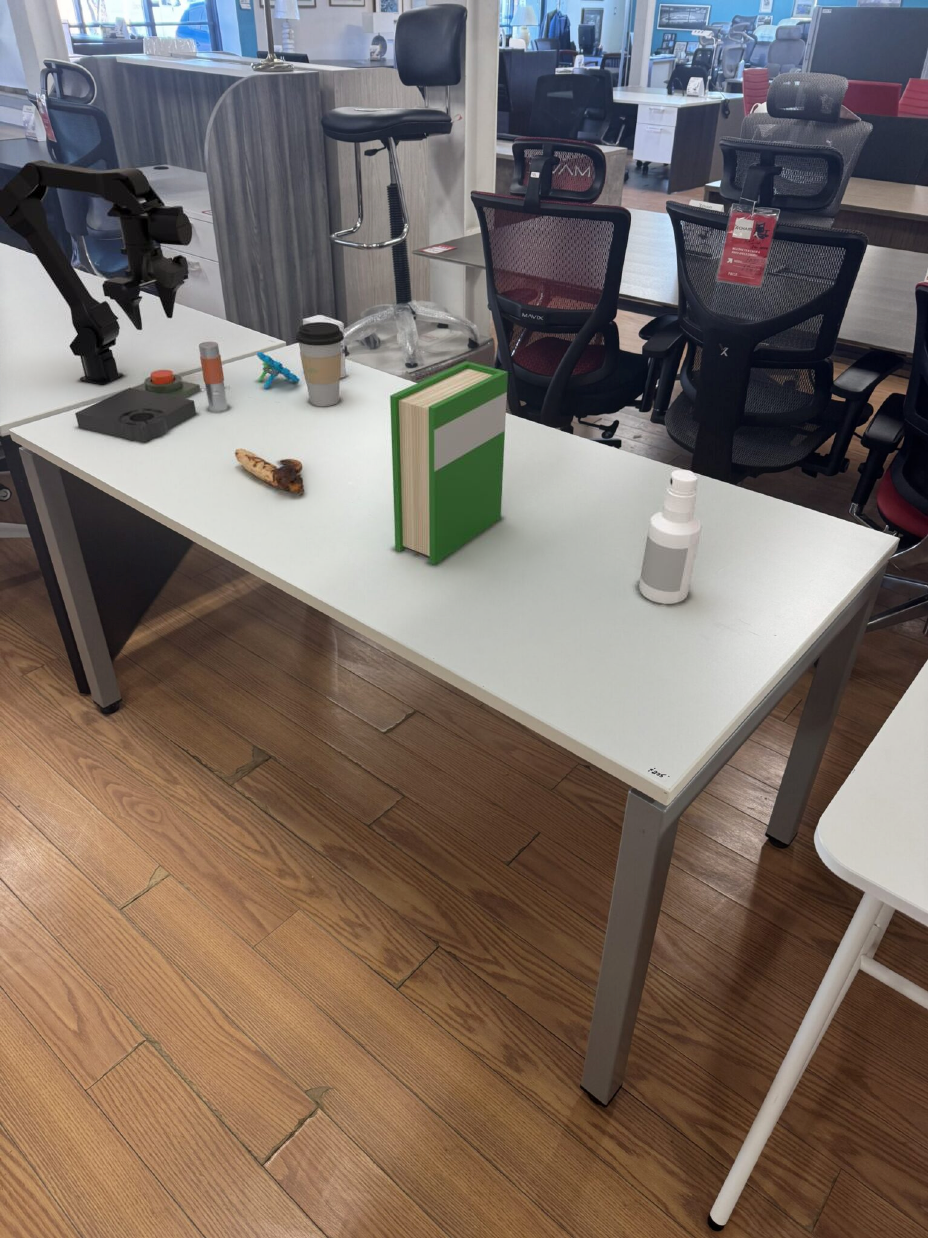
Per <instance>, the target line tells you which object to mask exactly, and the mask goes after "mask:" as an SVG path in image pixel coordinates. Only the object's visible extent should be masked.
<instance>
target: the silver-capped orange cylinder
mask: <svg viewBox="0 0 928 1238" xmlns="http://www.w3.org/2000/svg"><path fill="white" fill-rule="evenodd" d="M198 349H199V355H200V356H199V358H200V364H201V365H200V366H201V373H202V378H203V383H204V385H205V387H200V390H201V391H200V392H206V397H207V404H208V409H209V411H210V412H213V413H221V412H225V411H227V410H228V408H229V407H228V400H227V394H226V390H230V389H231V386H230V385H229V386H226V385H225V382H224V381H225V377H224V370H223V363H222V356H221V354H220V348H219V343H218V342H216V341H204V342H201V343H199V344H198Z"/></svg>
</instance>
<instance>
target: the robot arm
mask: <svg viewBox="0 0 928 1238" xmlns="http://www.w3.org/2000/svg"><path fill="white" fill-rule="evenodd" d="M49 188H54V189H60V190H66V191H72V192H79V193H85V194H91V195H95V196H98V197H100V198H101V199H103V200H105V202H109V203H110V204H112V207H111V208H110V209H109V210H108V211H107V213H106V215H107V217H109V218H118V221H119V226H120V232H121V235H122V241H123V246H124V247H121V248H120V254H121V255H125V256H126V261H127V265H128V269H126V270H124V273H125V274H124V275H125V277H119V276H115V277H112V278H110V279H106V280H104V281H103V283H102V284H101V286H102V291H103V296H104V297H107V298H109V299H110V300H113V301H115V303H116V304H117V305H118V306H119V307H120V309H121V310H122V311H123V312H124V313H125V315H126V317H127V318H128V319H129V321H130V322H131V323H132V325H133V326H134V328H135V329H136V330H137V331H142V330H143V321H142V315H141V308H140V303H141V301H142V299H143V296H141V295H140V293H141V288H142V287H146V286H149V285H152V284H154V287H155V289H156V292H157V295H158V298H159V301H160V303H161V306H162V309H163V312H164V313H165V316H166V318H167V319H173V315H174V310H175V301H176V297H177V292H178V290H179V289H180V288H181V286H183V285H185V283H186V281H185V280H188V279H189V273H190V271H189V265H188V260H187V257H186V256H184V255H182V254H178V255H175V256H173V258H172V257H165V256H164V254H163V249H162V248H161V246H157V245H156V243H157V244H159V245H171V246H172V245H173V246H185V247H187V246H189V245H190V243H191V242H192V239H193V225H192V223H191V222H190V219H189V216H188V215H187V214H186V213H185V212H184V207H183V206H182V205H173V206H168V205H167V206H166V204H165V202H163V200H162V199H161V197H160V196H159V195H158V193H157V192H156V191H155V189H154V188H153V187H152V186H151V184H150V182H149V180H148V178H147V176H146V175H145V173H144V172H143V171H142V170H141V169H139V168H136V167H125V168H114V169H103V170H101V169H100V170H99V169H95V168H94V169H93V168H88V167H87V168H86V167H80V166H73V165H67V164H61V163H55V162H54V163H53V162H48V161H45V160H43V159H39V160H34V161H30V162H27V163H25V164H24V166H23V167H21V169H20V170H19V172H18V173H17V174H16V175H15V176H13V178H11V180H9V181H8V182H7V183H6V184H5V185H4V186H3V188H1V189H0V219H1V220H2V221H3V222H4V223H5V225H6V226H7V227H8V228H9V229H10V230H12V231H13V232H14V233H15V234H16V235H18V236H20V237H21V238H23V239H24V240H25V241H26V243H27V244H28V245H29V247H30V249H31V250H32V252H33V253H34V255H35V256H36V258H37V259H38V261H39V263H40V265H42V267H43V269H44V270H45V272H46V274H47V275H48V276H49V278H50V279H51V281H52V283H53V284H54V285H55V287H56V289H57V291H58V292H59V293H60V295H61V296H62V298H63V299H64V301H65V302H66V304H67V305H68V307H69V310H70V315H71V323H72V326H73V328H74V330H75V332H76V334H77V335H76V336H75V337H74V339H73V340H71V341H72V342H70V344H69V348H70V350H71V352H72V354H73V355H74V356H75V357H79V358H80V361H81V365H82V370H83V374H84V376H81V377H80V378H79V380H80V381H81V382H86V383H91V384H96V385H100V386H103V385H106V384H108V383H110V382H113V381H115V380H117V379H120V378H122V377H124V373H121V372H119V371H118V367H117V362H116V358H115V357H114V354H113V350H112V349H110V348H111V347H114V346H116V344H117V343H116V342H117V338H118V337H119V335H120V329H121V327H120V323H119V321H118V320H119V317H118V316H117V315H116V314H115V313H114V312H113V310H112V308H111V305H110V303H108V301H106V300H104V301H102V302H99V300H97V299H96V298H94V297H93V296H92V295H91V293H90V292H89V290H88V289H87V287H86V285H85V284H84V282H83V281H82V279H81V278H80V276H79V275H78V273H77V271H76V270H75V268H74V267H73V266H72V264H71V262H70V261H69V259H68V257H67V256H66V254H65V252H64V251H63V249H62V248H61V246H60V244H59V243H58V242H57V240H56V238H55V237H54V236H53V234H52V232H51V231H50V229H49V226H48V219H47V218H48V217H47V212H46V210H45V208H44V205H43V203H42V201H43V200H44V199H45V197H46V195H47V193H48V191H49ZM127 277H130V278H127Z"/></svg>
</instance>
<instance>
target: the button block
mask: <svg viewBox="0 0 928 1238" xmlns="http://www.w3.org/2000/svg"><path fill="white" fill-rule="evenodd" d="M173 376H174V381H173V382H171V383H166V384H155V383H152V379H151V375H150V376H148V377H146V378H145V379H144V381H143V382H142V383H141V384H139V385H135V386H134V387H133V388H134V389H139V390H144V391H149V392H154V393H159V394H164V395H169V396H174V397H179V398H184V399H188V398H189V397H192V396H193V395H195V394H197V393H199V392H202V391H201V385H200V384H199V383H195V382H188V381H183V378H182V376H180V375H179V374H174V373H173Z"/></svg>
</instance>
